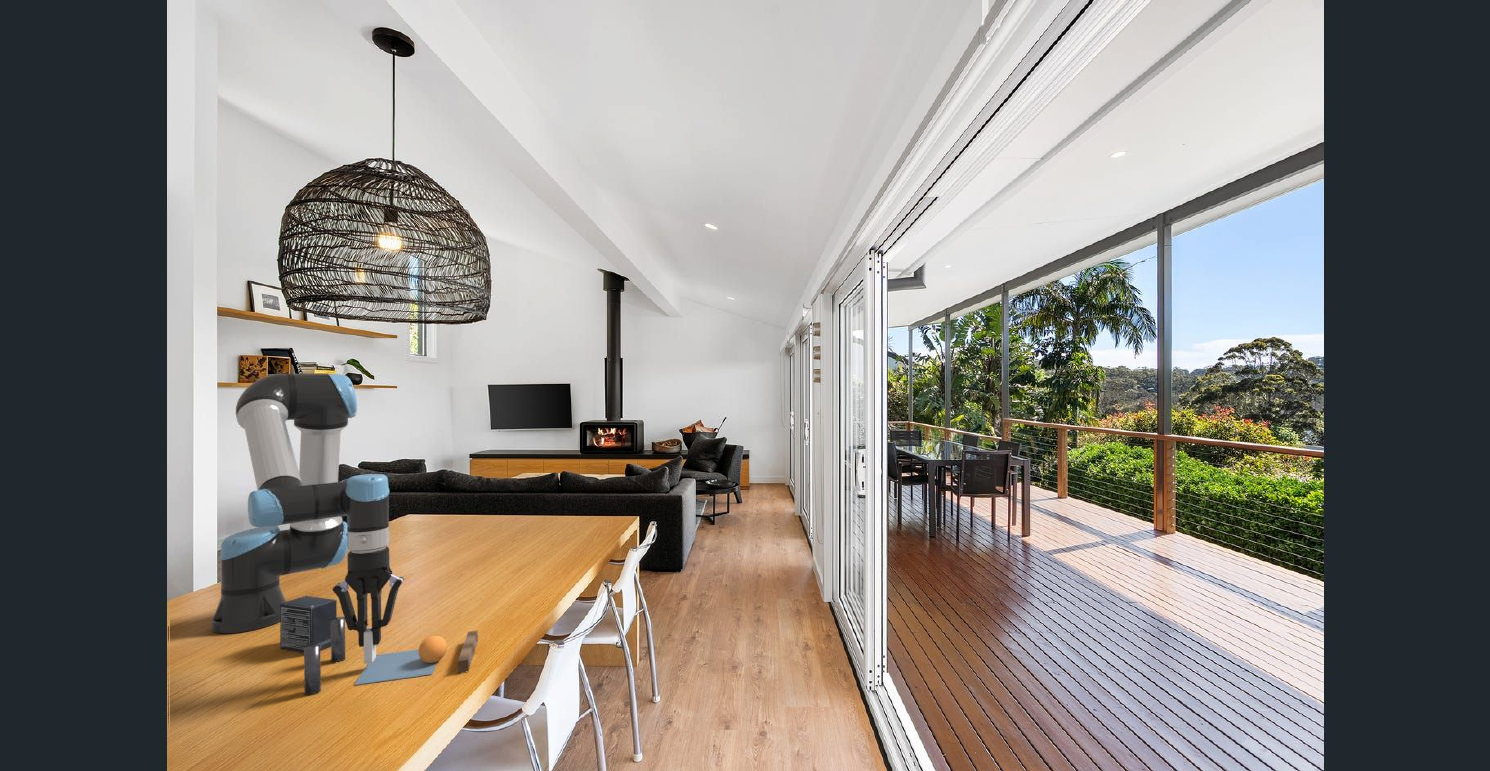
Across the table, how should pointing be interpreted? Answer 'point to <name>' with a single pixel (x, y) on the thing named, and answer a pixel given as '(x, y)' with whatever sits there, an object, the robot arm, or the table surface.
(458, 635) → the table surface
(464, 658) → the stopper wall
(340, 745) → the table surface
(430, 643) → the ball
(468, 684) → the table surface
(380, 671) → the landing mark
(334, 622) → the post
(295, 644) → the small box
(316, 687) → the post
